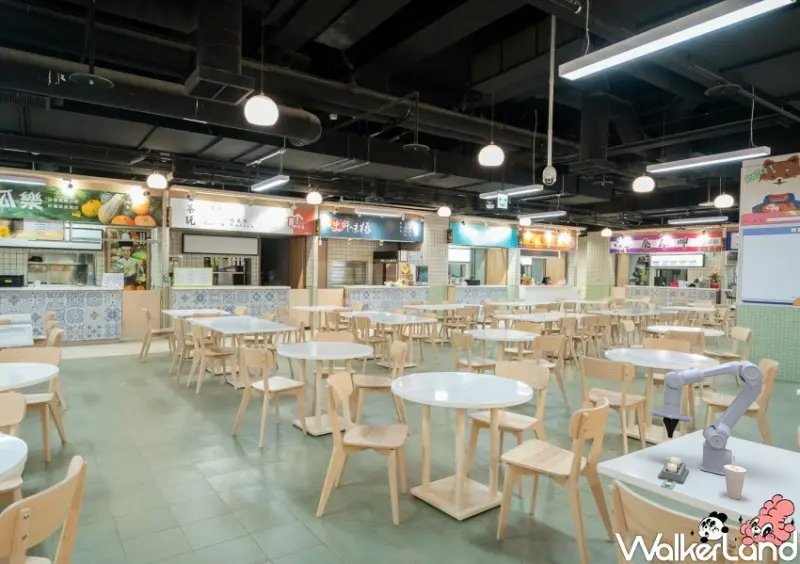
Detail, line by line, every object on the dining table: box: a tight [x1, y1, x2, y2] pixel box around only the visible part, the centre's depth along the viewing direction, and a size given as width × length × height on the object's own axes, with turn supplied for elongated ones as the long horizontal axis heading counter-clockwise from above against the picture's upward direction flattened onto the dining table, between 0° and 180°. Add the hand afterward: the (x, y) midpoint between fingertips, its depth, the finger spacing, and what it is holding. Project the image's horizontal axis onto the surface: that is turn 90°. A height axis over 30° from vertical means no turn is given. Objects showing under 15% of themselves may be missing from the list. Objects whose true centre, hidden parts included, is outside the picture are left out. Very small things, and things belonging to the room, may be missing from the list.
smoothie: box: [724, 454, 747, 500], centre depth 168 cm, size 6×6×14 cm
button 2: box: [674, 455, 682, 466], centre depth 189 cm, size 3×3×4 cm
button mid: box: [669, 455, 679, 470], centre depth 185 cm, size 3×3×4 cm
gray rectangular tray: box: [657, 459, 690, 485], centre depth 185 cm, size 8×14×3 cm, turn 143°
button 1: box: [667, 463, 677, 474], centre depth 182 cm, size 3×3×4 cm
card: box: [660, 479, 677, 490], centre depth 177 cm, size 4×8×1 cm, turn 143°
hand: (670, 437), depth 197 cm, fingers closed
